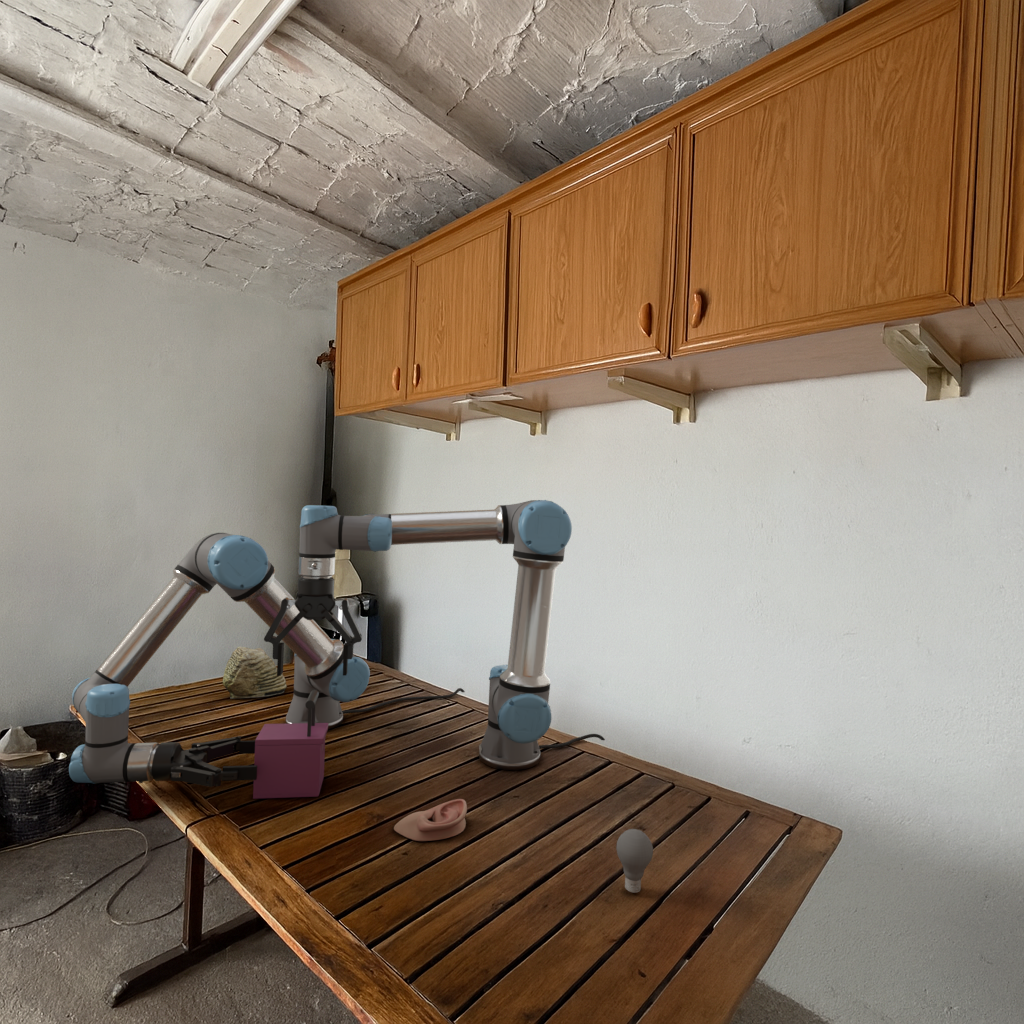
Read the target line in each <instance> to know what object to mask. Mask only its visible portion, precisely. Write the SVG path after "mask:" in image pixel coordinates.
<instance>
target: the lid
mask: <svg viewBox="0 0 1024 1024" xmlns="http://www.w3.org/2000/svg"><path fill="white" fill-rule="evenodd" d="M318 696H319V692H318V691H317V690H313V691H311V693H310V695H309V697H308V699H307V701H306V704H305V706H306V708H307V709H308V723H293V724H286V723H264V725H263V726H262V728H261V730H260V731H259V733H258V735H256V738H255V739H254V740H255V745H301V744H323V743H324V740H325V741H326V736H327V733H328V731H329V730H328V723H315V709H316V701H317V698H318Z"/></svg>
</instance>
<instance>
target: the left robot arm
mask: <svg viewBox="0 0 1024 1024" xmlns="http://www.w3.org/2000/svg"><path fill="white" fill-rule="evenodd" d="M172 572H173V573H172V574H173V577H171V579H170V581H168V583H166V585H165V587H164V588H163V589H162V590H161V591H160V593H159V594H158V595H157V596H156V598H155V599H153V601H152V603H150V605H149V606H148V607H147V608H146V610H145V611H144V612H143V613H142V614H141V616H140V617H139V618H138V619H137V620H136V621H135V623H134V624H133V625H132V627H131V628H130V629H129V630H128V631H127V633H126V634H125V635H124V636H123V638H121V640H120V641H119V642H118V643H117V645H116V646H115V647H114V648H113V649H112V650H111V652H110V653H109V654H108V655H107V657H106V658H105V659H104V660H103V662H102V663H101V664H99V667H98V668H96V670H95V671H94V672H93V673H92V675H90V677H88V678H85V679H82V680H81V681H79V683H77V684H76V686H75V687H74V688H73V690H72V693H71V701H72V705H73V708H74V710H75V711H77V712H78V713H79V715H80V717H81V718H82V720H83V721H84V723H85V739H84V744H83V743H82V744H80V745H78V746H77V747H76V748H75V749H74V751H73V752H72V754H71V757H70V763H69V766H68V773H69V774H68V775H69V777H70V779H71V780H72V781H73V782H74V783H79V784H94V785H96V784H97V785H99V784H107V783H133V782H138V783H139V784H143V783H145V782H152V781H155V782H170V781H171V782H184V783H188V784H193V785H198V786H203V787H208V788H213V787H216V788H217V787H220V786H222V782H233V781H236V782H237V781H254V780H256V779H257V765H254V764H251V765H223V766H222V767H221V768H220V767H217V766H215V765H213V764H210V762H211V761H213V760H215V759H218V758H221V757H226V756H229V755H233V754H236V753H238V754H239V755H248V754H249V755H252V754H254V755H255V740H256V739H252V740H251V739H249V740H241V739H242V737H241V736H240V735H237V736H233V737H227V738H221V739H216V740H210V741H204V742H193V743H191V746H190V748H189V749H183V748H182V744H181V743H180V742H178V741H175V742H161V743H159V742H155V741H154V742H132V743H131V742H129V724H130V723H129V721H130V705H131V699H130V688H129V686H130V684H131V683H132V682H133V681H134V680H135V678H136V677H137V676H138V675H139V673H140V672H141V671H142V669H143V668H144V667H145V666H146V665H147V664H148V662H149V661H150V659H152V657H153V656H154V655H155V653H156V652H157V651H158V650H159V649H160V648H161V646H162V645H163V643H164V642H165V641H166V640H167V639H168V637H169V636H170V635H171V633H172V632H173V631H174V630H175V629H176V627H177V626H178V625H179V624H180V622H181V621H182V620H183V619H184V617H185V616H186V615H187V614H188V612H189V611H190V610H191V609H192V607H194V605H195V604H196V602H198V600H199V598H201V596H203V595H206V594H209V593H210V592H211V591H212V589H214V587H215V586H216V585H217V586H219V587H220V589H222V591H224V593H226V594H227V595H228V596H229V598H231V600H233V601H234V602H236V603H241V602H244V603H245V604H246V605H247V606H248V607H249V608H250V609H251V610H252V611H253V612H254V613H255V614H256V615H257V616H258V617H259V618H260V619H261V620H262V621H263V623H265V624H266V625H267V627H268V628H270V627H271V625H272V623H273V621H274V620H275V618H276V616H277V614H278V613H279V611H280V609H281V602H282V600H283V599H284V598H286V597H288V598H289V599H294V600H296V598H294V597H293V596H292V595H291V593H289V591H288V590H287V589H286V588H285V587H284V586H283V585H282V584H281V583H280V581H279V580H278V579H277V578H276V577H275V573H276V568H275V567H274V565H273V564H272V563H271V562H270V561H269V558H268V554H267V552H266V550H265V549H264V547H263V546H262V545H261V544H260V543H258V542H257V541H256V540H255V539H253V538H251V537H248V536H246V535H241V534H240V535H239V534H232V533H231V534H230V533H227V532H214V533H210V534H207V535H205V536H203V537H202V538H201V539H199V540H198V541H197V542H196V543H195V544H194V545H193V546H192V547H191V549H189V550H188V551H187V553H186V554H185V556H183V558H181V560H180V561H179V563H178V564H177V565H176V566H175V567H174V569H173V570H172ZM298 613H299V610H298V609H297V608H296V606H295V605H292V607H291V608H290V609H288V610H287V612H286V613H285V615H284V617H283V619H282V621H281V622H280V624H279V626H278V628H277V629H276V631H275V633H274V634H275V635H276V636H278V635H279V634H280V633H281V632H282V630H283V629H284V628H285V627H286V626H287V625H288V624H289V623H290V622H291V621H292V620H293V619H294V618H295V617H296V615H297V614H298ZM281 641H282V643H284V645H286V646H287V647H288V648H289V649H290V650H291V652H293V653H294V655H293V656H294V672H293V695H292V696H293V697H292V699H291V702H290V704H289V708H288V711H287V713H286V715H285V724H293V723H308V709H307V708H306V706H305V704H306V701H307V699H308V697H309V695H310V693H311V691H313V690H317V691H318V692H319V696H318V698H317V701H316V709H315V723H328V730H327V731H329V730H332V729H335V728H337V727H339V726H340V725H342V723H343V722H344V715H346V714H357V713H358V714H359V713H367V712H369V711H373V710H375V709H378V708H380V707H384V706H387V705H390V704H394V703H399V702H405V701H417V700H419V701H420V700H422V701H423V700H436V699H437V700H441V699H449V698H452V697H455V696H456V695H458V693H459V692H461V693H465V692H466V691H465V690H464V689H463V688H462V687H459V688H457V689H456V690H455V691H453V692H452V693H450V694H444V695H426V696H425V695H424V696H407V697H400V698H395V699H391V700H387V701H384V702H381V703H378V704H377V703H376V704H375V705H372V706H369V707H366V708H359V709H346V710H343V709H342V706H341V703H350V702H353V701H355V700H357V699H358V698H359V697H361V695H362V694H363V693H364V692H365V691H366V690H367V688H368V685H369V683H370V676H371V670H370V667H369V665H368V663H367V662H366V661H365V660H364V659H363V658H361V657H359V656H356V655H355V654H353V657H352V659H348V667H347V675H343V656H344V644H345V643H343V641H341V639H337V638H330V637H329V635H328V634H327V633H326V632H325V630H323V629H322V628H321V626H320V625H318V623H317V622H316V621H315V619H312V620H307V619H305V618H304V617H303V618H302V619H301V620H300V621H299V622H298V623H297V624H296V625H295V626H294V627H293V628H292V629H291V630H290V631H289V632H288V634H287V635H286V636H285V637H284V638H283V639H282V640H281Z"/></svg>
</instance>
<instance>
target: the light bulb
mask: <svg viewBox="0 0 1024 1024" xmlns="http://www.w3.org/2000/svg"><path fill="white" fill-rule="evenodd" d="M615 849H616V854H617V857H618V859H619V861H620V863H621V865H622V867H623V873H624V874H623V875H624V876H625V878H624V888H625V890H627V891H628V892H630V893H634V894H635V893H639V892H640V891H641V889H642V887H641V886H642V879H643V877H644V875H645V871H646V868H647V867H648V866H649V864H650V863H651V861H652V859H653V855H654V847H653V843H652V841H651V838H649V836H648V835H647V834H646V833H645V832H643V831H642V830H641V829H636V828H629V829H627V830H625V831H623V832H622V833H621V834H620V835H619V837H618V839H617V841H616V847H615Z"/></svg>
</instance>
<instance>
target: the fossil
mask: <svg viewBox="0 0 1024 1024" xmlns="http://www.w3.org/2000/svg"><path fill="white" fill-rule="evenodd" d="M222 676H223V677H222V685H223V687H224V688H225V690H226V691H228V693H229V698H230V699H250V698H264V697H271V696H275V695H281V694H284V693H285V691H286V689H287V687H288V686H287V680H286V678H285V676H284V674H282V675H281V676H277V664H276V663H275V662H274V659H273V658H271V657H270V656H269V655H268V654H267V653H266V652H265V650H264V649H263V648H260V647H258V648H251V647H247V646H246V647H245V646H238V647H237V648H236V649H235V650H233V651H232V653H231V656H230V657H229V659H228V660H227V663H226V666H225V668H224V671H223V675H222Z"/></svg>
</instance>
